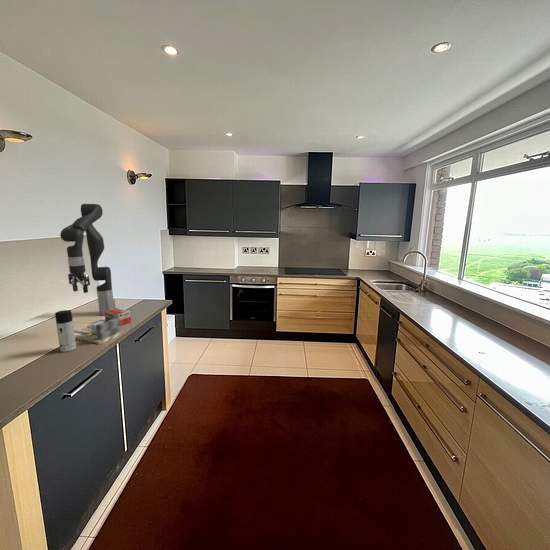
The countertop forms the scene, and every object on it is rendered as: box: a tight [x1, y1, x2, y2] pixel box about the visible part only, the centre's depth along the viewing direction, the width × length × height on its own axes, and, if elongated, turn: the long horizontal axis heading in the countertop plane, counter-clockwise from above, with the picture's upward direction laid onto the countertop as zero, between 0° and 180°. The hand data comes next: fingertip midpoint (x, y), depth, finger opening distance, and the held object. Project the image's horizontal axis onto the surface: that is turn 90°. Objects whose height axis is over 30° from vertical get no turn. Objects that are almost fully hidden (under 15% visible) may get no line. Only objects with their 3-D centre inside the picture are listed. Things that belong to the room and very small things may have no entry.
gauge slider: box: [87, 320, 104, 336], centre depth 161 cm, size 10×6×6 cm, turn 158°
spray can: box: [54, 309, 77, 353], centre depth 146 cm, size 7×7×20 cm
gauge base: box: [74, 318, 125, 345], centre depth 165 cm, size 16×26×10 cm, turn 68°
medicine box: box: [104, 307, 132, 327], centre depth 185 cm, size 15×8×8 cm, turn 62°
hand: (80, 291), depth 167 cm, fingers open, 8 cm apart
